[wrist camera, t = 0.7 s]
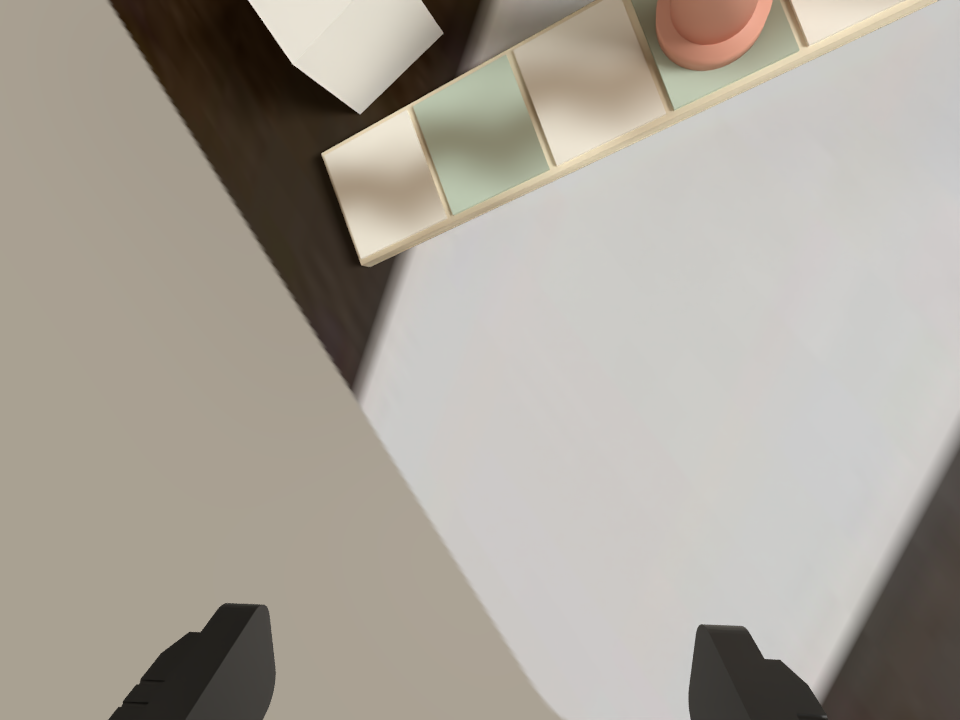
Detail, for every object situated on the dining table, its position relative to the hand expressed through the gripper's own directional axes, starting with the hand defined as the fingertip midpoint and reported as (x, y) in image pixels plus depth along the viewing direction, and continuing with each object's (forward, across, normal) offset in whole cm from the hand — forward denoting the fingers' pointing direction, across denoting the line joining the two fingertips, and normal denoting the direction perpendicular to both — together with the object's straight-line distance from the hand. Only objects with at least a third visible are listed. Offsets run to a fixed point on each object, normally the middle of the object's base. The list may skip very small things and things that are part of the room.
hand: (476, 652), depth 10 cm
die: (+27, +8, -18) cm, 33 cm away
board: (+23, -4, -14) cm, 27 cm away
